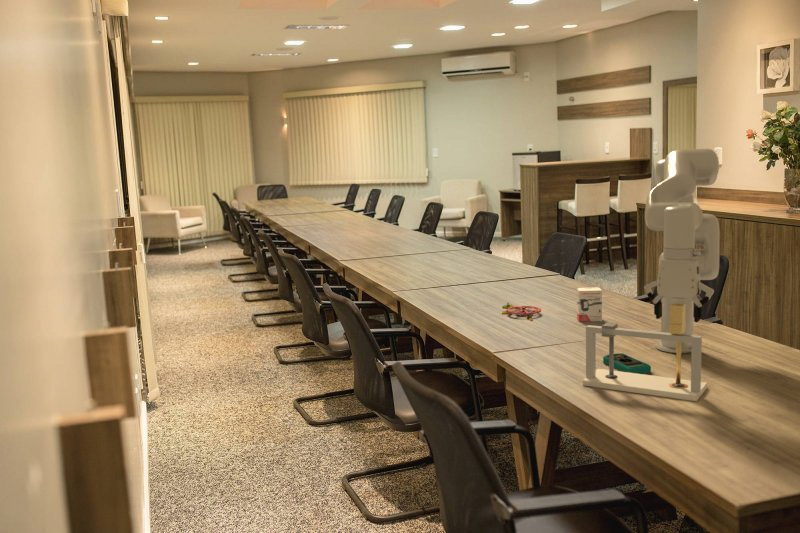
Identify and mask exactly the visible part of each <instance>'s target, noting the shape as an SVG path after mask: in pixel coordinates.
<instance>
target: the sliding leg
mask: <svg viewBox="0 0 800 533" xmlns="http://www.w3.org/2000/svg"><path fill="white" fill-rule="evenodd" d="M685 330H686V322H685V304H682V303H673V304H671V307H670V334H681V335H682V334H683V333H684V332H685ZM675 355H676V356H675V358H676V359H675V378H676V384H681V379H682V378H681V377H682V375H681V374H682V353H681V342H679V341H676V353H675Z"/></svg>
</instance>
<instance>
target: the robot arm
mask: <svg viewBox="0 0 800 533" xmlns="http://www.w3.org/2000/svg"><path fill="white" fill-rule="evenodd" d="M654 167H655V169H654V170H655V177H656V181H657V185H656V186H655V187H653V188H652V189H651V190H650V192H648V195H647V197H646V201H645V209H644V210H645V211H644V221H645V225H646V227H647V228H648V229H649V230H651V231H653V232H663V247H662V249H663V250H662V251H663V252H661V254H660V255H659V258H658V272H657V273H658V274H657V280H655V281H652V282H649V283H648V284H646V285H644V286H643V289H644V291H645V293H646V295H647V297H648V298H649V299H650V301H651V302H652V304H653V305H654V306H653V314H654V315H655V319H657V320H658V319H661V320H660V324H661V325H660V332H665V333H670V307H671V304H673V303H682V304H685V322H686V330H685V332H684V333H683V334H685V335H694V322H695V323H698V322H700V320H701V319H702V318H703V305H705V304H706V303H707V302H709V301H710V299H711V297H712V296H713V294H714V292H715V289H714V288H712V287H709V286H708V285H706V284H704V283H702V282H701V281H711V280H715V279H716V278H717V277H718V276H719V273H720V236H721V235H720V234H721V232H720V223H719V219H718V218H717V216H716V215H714V214H710V213H703V212H704V211H703V210H702V208H701V207H700V206H699V204H697V203H695V202H694V199H695V198H694V197H693V194H694V193H695V190H696V189H697V188H696V187H698V186H701V187H702V186H705V187H707V186H711V185H714V184H715V183H716V181H717V178H718V174H719V170H720V160H719V157H718V155H717V153H716V151H714V150H713V149H710V148H689V149H687V148H686V149H681V148H680V149H676V150H673V151H671V152H669V153H668V154H667V155H666V156H665V158H663V159H659V160H658V161H657V162H656V165H655V166H654ZM699 245H700V246H702V247H703V248H696V247H695V246H699ZM655 287H656V293H655V292H653V290H652V288H655ZM701 291H703V292H705V295H704V297H703V298H701V297H700V295H701ZM656 294H657V295H656ZM694 305H695V306H694ZM691 347H692V343H688V342H681V354H689V353H691ZM655 348H656V349H657V350H659V351H663V352H666V353H672V354H676V341H669V340H659V341H657V342H656V343H655Z"/></svg>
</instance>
